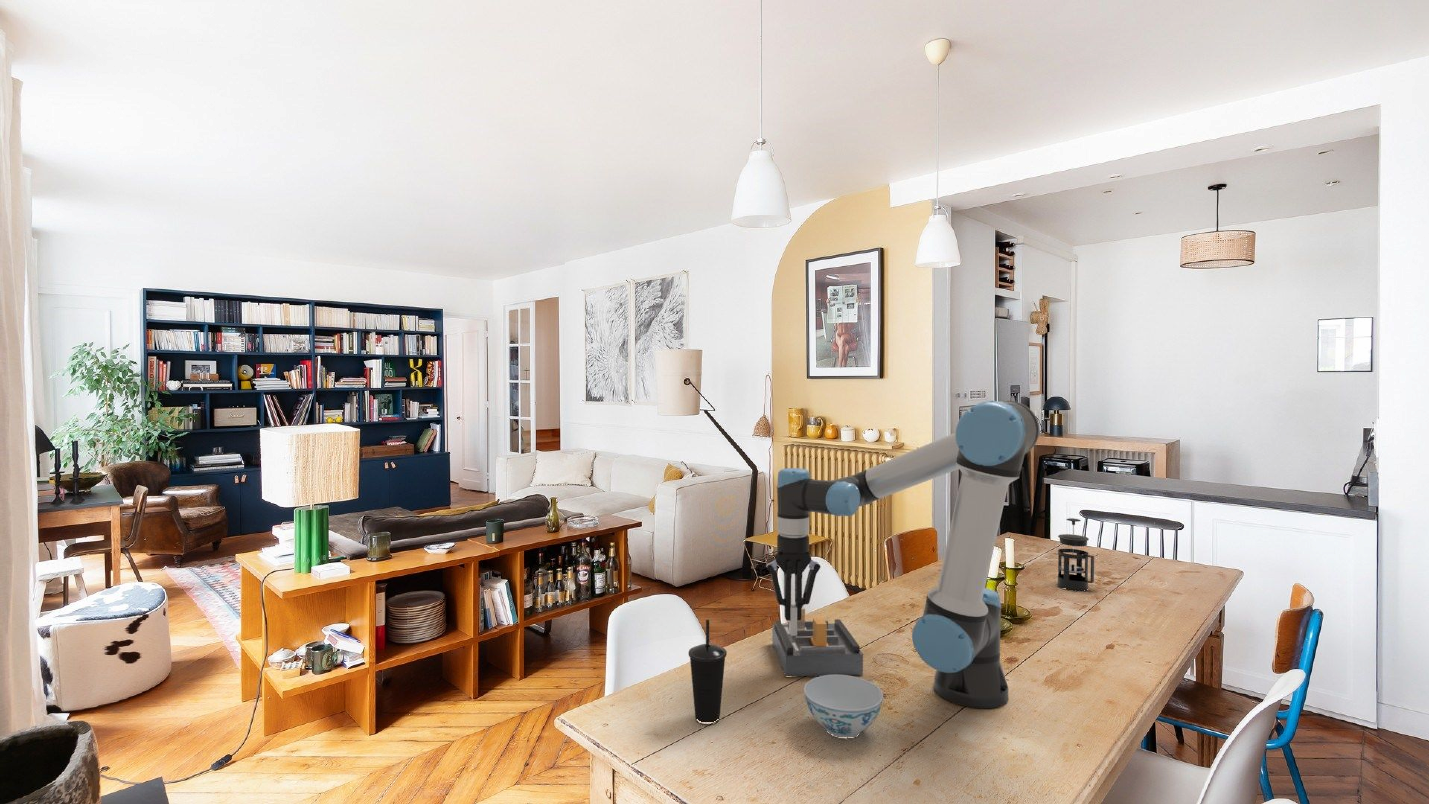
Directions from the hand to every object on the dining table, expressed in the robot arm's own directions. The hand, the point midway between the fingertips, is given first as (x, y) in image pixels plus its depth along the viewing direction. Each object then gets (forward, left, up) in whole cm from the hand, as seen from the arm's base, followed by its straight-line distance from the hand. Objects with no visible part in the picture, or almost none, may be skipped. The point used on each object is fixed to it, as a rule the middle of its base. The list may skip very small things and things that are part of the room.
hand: (792, 633), depth 157 cm
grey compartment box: (+5, -6, -8) cm, 12 cm away
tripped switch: (0, -6, -3) cm, 7 cm away
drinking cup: (-23, +22, -9) cm, 33 cm away
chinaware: (-29, -4, -9) cm, 30 cm away
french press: (+57, -105, -9) cm, 120 cm away
